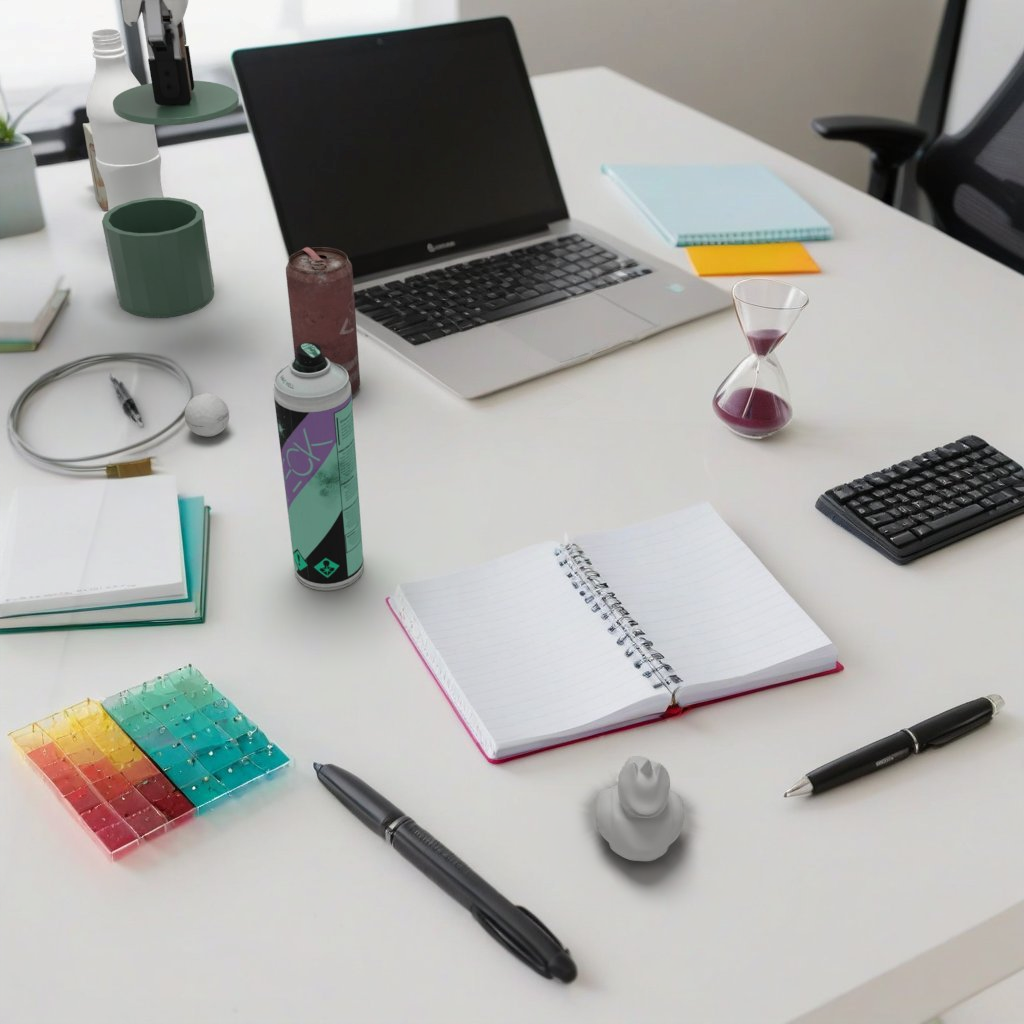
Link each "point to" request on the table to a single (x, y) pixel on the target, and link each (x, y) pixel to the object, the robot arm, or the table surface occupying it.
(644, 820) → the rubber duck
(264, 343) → the table surface
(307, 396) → the spray can
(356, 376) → the can
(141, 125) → the water bottle
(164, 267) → the tin
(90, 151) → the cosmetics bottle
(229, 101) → the tin lid
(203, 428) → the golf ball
